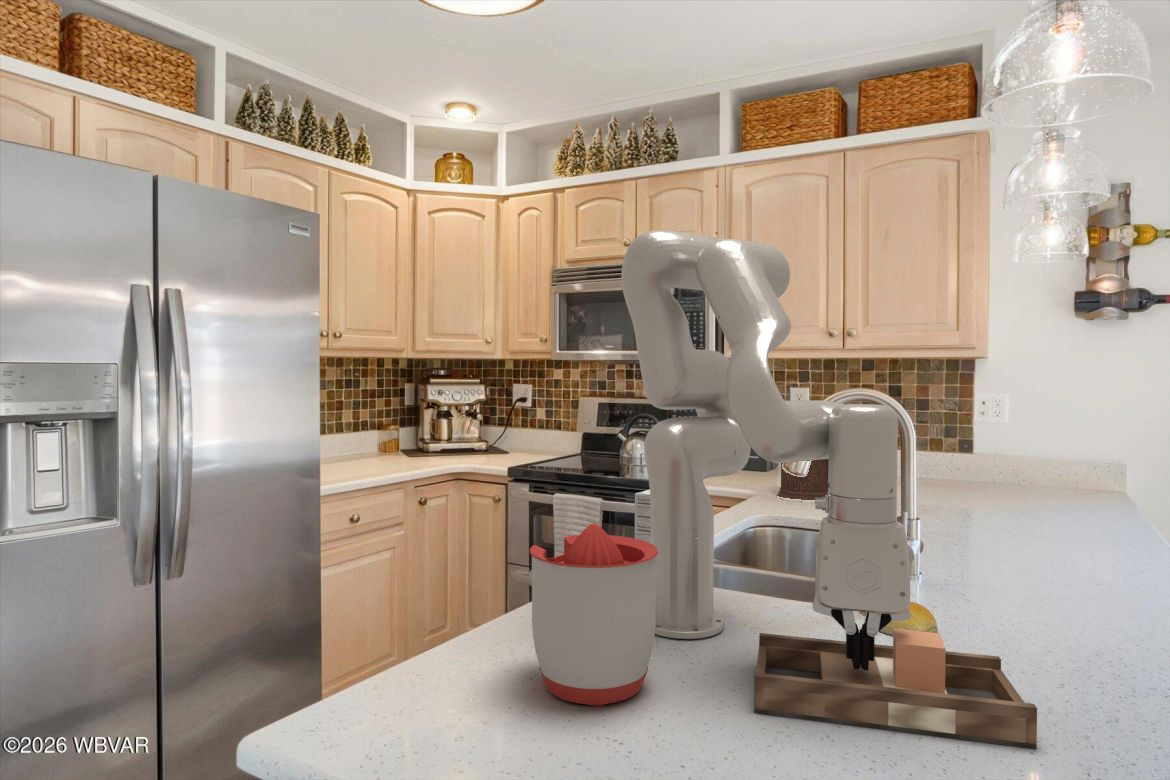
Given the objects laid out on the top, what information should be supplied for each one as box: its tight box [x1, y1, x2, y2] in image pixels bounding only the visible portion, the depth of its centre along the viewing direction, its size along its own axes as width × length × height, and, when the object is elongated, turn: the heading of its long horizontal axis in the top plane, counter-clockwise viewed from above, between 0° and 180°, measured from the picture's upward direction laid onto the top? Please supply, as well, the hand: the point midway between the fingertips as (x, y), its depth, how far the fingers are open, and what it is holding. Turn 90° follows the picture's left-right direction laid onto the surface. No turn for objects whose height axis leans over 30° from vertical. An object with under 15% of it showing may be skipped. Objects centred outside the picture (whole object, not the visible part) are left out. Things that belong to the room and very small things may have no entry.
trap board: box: [753, 632, 1038, 750], centre depth 83 cm, size 28×14×4 cm, turn 74°
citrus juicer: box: [528, 523, 658, 707], centre depth 88 cm, size 16×17×20 cm
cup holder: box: [776, 459, 829, 500], centre depth 222 cm, size 18×24×25 cm
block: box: [892, 628, 946, 694], centre depth 82 cm, size 5×5×5 cm
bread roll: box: [879, 601, 939, 636], centre depth 107 cm, size 8×9×4 cm
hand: (859, 665), depth 84 cm, fingers closed
